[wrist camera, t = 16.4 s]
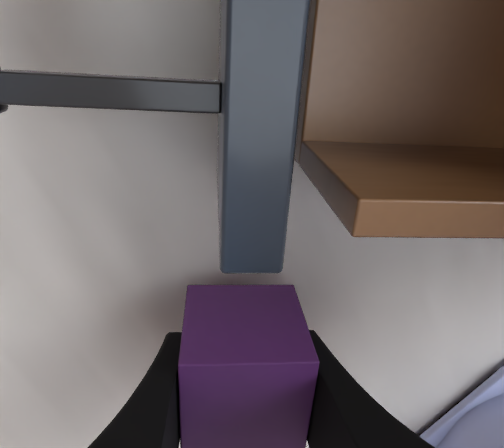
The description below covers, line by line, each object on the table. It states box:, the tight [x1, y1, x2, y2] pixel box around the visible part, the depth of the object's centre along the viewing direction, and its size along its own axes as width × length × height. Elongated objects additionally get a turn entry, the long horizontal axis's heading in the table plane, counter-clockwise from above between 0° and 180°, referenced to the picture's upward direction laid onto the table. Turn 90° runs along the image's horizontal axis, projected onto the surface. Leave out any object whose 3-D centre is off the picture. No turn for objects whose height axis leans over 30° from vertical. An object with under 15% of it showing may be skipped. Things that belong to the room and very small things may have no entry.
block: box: [178, 285, 320, 448], centre depth 13 cm, size 4×4×4 cm
